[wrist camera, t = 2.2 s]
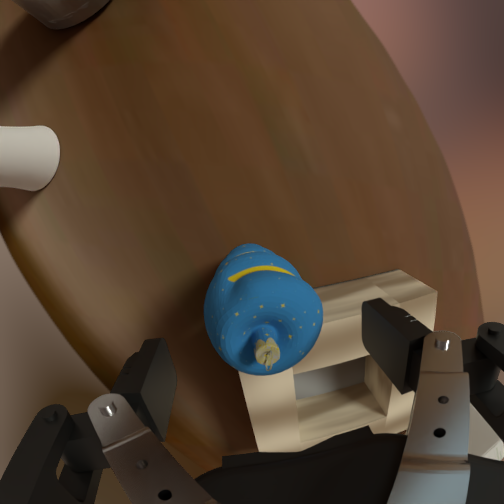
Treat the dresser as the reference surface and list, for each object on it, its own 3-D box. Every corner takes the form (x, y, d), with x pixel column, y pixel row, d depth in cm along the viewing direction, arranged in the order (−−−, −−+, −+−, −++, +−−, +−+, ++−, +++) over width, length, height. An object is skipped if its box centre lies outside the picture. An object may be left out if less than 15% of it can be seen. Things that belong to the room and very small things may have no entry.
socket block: (229, 304, 25) (231, 341, 19) (398, 268, 26) (437, 291, 19) (257, 428, 29) (264, 470, 23) (389, 393, 29) (412, 426, 23)
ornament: (283, 229, 24) (365, 303, 9) (269, 289, 25) (320, 416, 10) (219, 217, 23) (208, 278, 9) (208, 278, 24) (189, 406, 10)
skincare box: (445, 388, 31) (506, 455, 16) (409, 419, 31) (461, 494, 16) (429, 358, 29) (506, 436, 14) (388, 394, 30) (451, 485, 14)
